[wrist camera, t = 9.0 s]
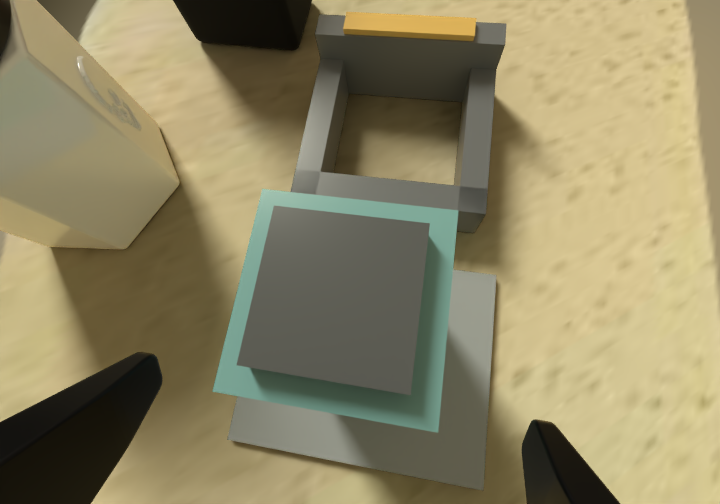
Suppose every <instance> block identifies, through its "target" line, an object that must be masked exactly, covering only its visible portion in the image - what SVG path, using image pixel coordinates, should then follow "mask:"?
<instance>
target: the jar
mask: <svg viewBox="0 0 720 504" xmlns="http://www.w3.org/2000/svg"><path fill="white" fill-rule="evenodd" d="M179 184H180V181H179V178H178V176H177V173H176V171H175V168H174V166H173V163H172V160H171V158H170V155H169V153H168V150H167V147H166V145H165V142H164V140H163V137H162V134H161V132H160V129H159V127H158V124H157V122H156V121H155V120H154V119H153V118H152V117H151V116H150V115H149V114H148V113H147V112H146V111H145V110H144V109H143V108H142V107H141V106H140V105H139V104H138V103H137V102H136V101H135V100H134V99H133V98H132V97H131V96H130V95H129V94H128V93H127V92H126V91H125V90H124V89H123V88H122V87H121V86H120V85H119V84H118V83H117V82H116V81H115V80H114V79H113V78H112V77H111V76H110V75H109V73H108V72H107V71H106V70H105V69H104V68H103V67H102V66H101V65H100V64H99V63H98V62H97V61H96V60H95V59H94V58H93V57H92V56H91V55H90V54H89V53H88V52H87V51H86V50H85V49H84V48H83V47H82V46H81V45H80V44H79V43H78V42H77V41H76V40H75V39H74V38H73V37H72V36H71V35H70V34H69V33H68V32H67V31H66V30H65V29H64V28H63V27H62V26H61V25H60V24H59V23H58V22H57V21H56V20H55V19H54V18H53V17H52V16H51V15H50V14H49V13H48V12H47V11H46V9H45V8H44V7H43V6H42V5H41V4H40V3H39V2H38V1H37V0H0V231H3V232H6V233H9V234H12V235H15V236H18V237H21V238H24V239H27V240H30V241H33V242H36V243H38V244H41V245H44V246H48V247H68V248H95V249H126V248H127V247H129V245H130V244H131V243H132V242H133V240H134V239H135V238H136V237H137V236H138V234H139V233H140V232H141V231H142V230H143V228H144V227H145V226H146V225H147V223H148V222H149V221H150V220H151V219H152V217H153V216H154V215H155V214H156V213H157V211H158V210H159V209H160V208H161V206H162V205H163V204H164V203H165V202H166V200H167V199H168V198H169V197H170V196H171V194H172V193H173V192H174V191H175V190H176V188H177V187H178V186H179Z"/></svg>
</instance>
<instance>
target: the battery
mask: <svg viewBox="0 0 720 504" xmlns="http://www.w3.org/2000/svg"><path fill="white" fill-rule="evenodd" d="M173 1H174V3H175V4H176V6H177V8H178V9H179V11H180V13H181V14H182V16H183V17H184V19H185V21H186V22H187V24H188V26H189V27H190V29H191V31H192V32H193V34H194V35H195V37H196V38H197V39H198V40H199V41H201V42H208V43H219V44H230V45H241V46H252V47H263V48H274V49H286V50H295V49H297V48H298V46H299V43H300V40H301V37H302V33H303V30H304V26H305V23H306V19H307V16H308V12H309V9H310V5H311V2H312V0H173Z"/></svg>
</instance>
